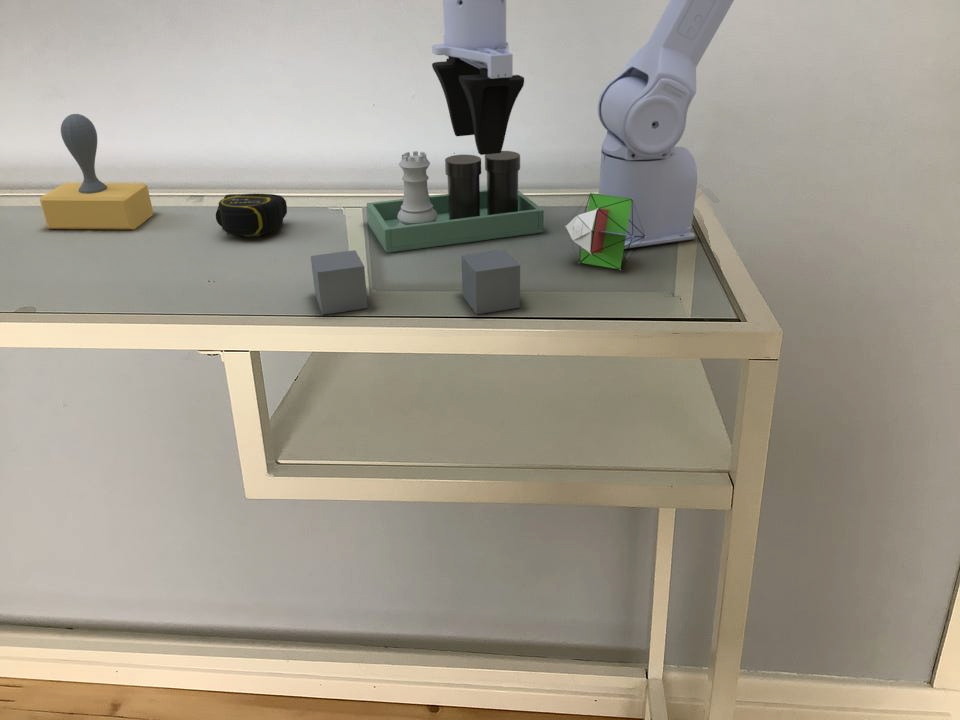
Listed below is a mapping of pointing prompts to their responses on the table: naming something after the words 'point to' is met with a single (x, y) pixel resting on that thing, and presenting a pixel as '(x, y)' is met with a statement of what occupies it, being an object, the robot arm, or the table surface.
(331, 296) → the grey cube
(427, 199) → the rook chess piece
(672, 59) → the robot arm
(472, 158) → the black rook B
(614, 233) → the geometric puzzle
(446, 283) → the table surface
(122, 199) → the rubber stamp
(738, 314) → the table surface
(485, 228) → the tray
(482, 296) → the grey cube
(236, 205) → the tape measure
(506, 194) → the black capped canister
